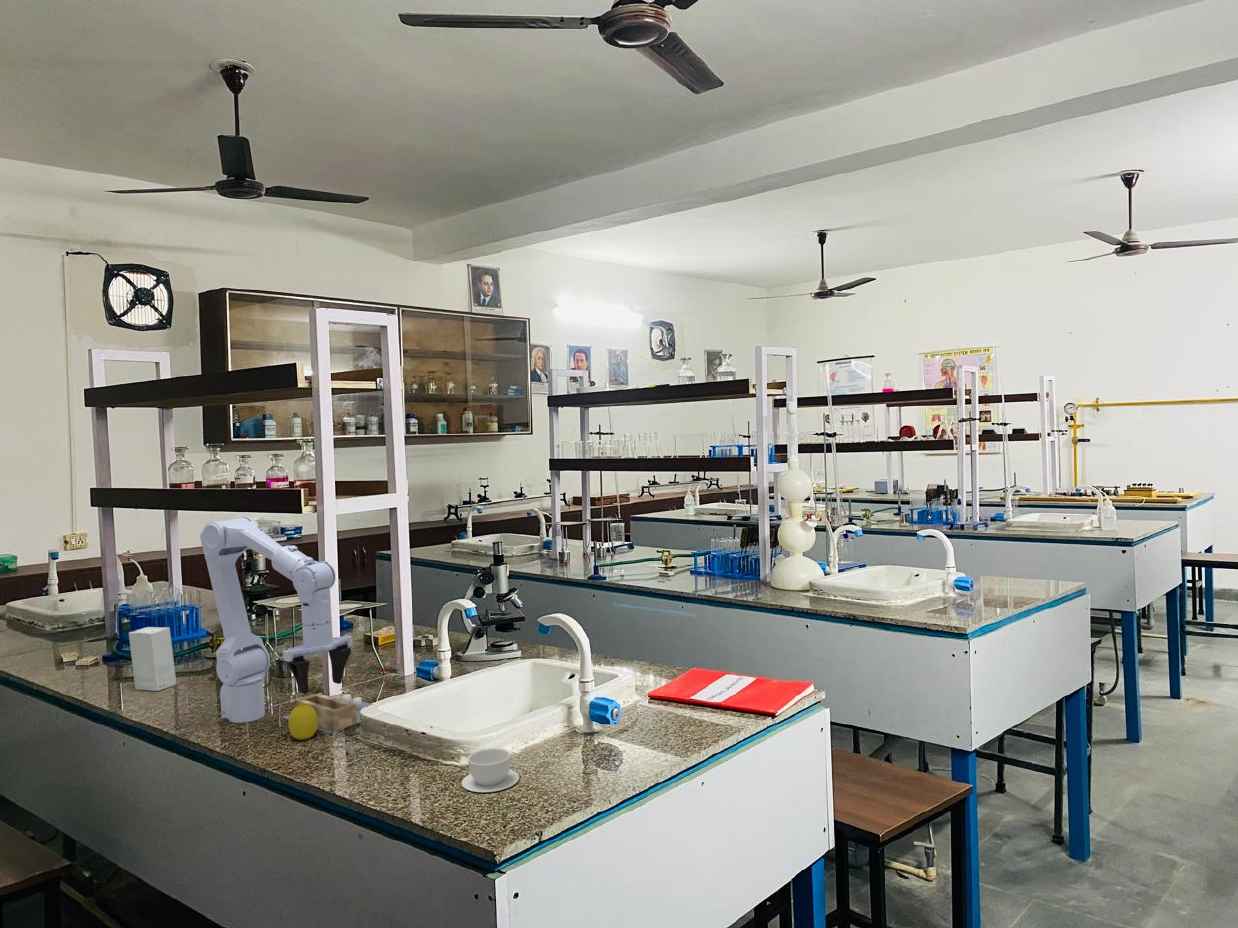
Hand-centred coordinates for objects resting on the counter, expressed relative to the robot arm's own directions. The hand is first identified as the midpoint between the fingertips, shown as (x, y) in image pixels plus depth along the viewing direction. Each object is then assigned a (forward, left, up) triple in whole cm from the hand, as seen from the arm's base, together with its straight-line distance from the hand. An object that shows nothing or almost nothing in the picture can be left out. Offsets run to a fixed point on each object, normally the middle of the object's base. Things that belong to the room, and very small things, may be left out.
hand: (320, 687), depth 178 cm
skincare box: (-67, -5, -10) cm, 68 cm away
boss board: (-5, +7, -10) cm, 13 cm away
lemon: (+1, -5, -10) cm, 11 cm away
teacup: (+48, +3, -10) cm, 49 cm away
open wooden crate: (-3, +3, -9) cm, 10 cm away
